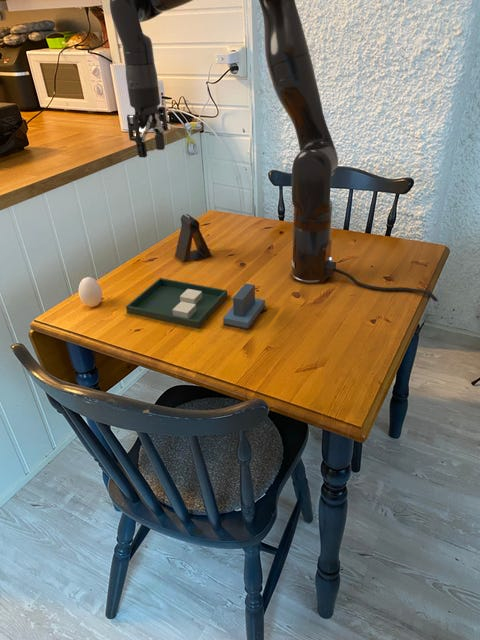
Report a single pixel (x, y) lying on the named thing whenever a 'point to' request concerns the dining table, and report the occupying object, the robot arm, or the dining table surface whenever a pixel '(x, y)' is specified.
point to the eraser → (244, 308)
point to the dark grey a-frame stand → (185, 240)
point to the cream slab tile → (184, 310)
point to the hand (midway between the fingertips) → (152, 153)
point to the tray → (176, 302)
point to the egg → (90, 292)
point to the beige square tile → (191, 296)
